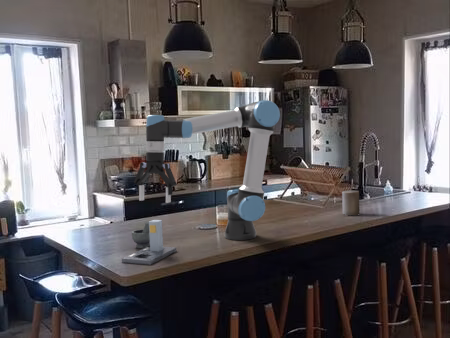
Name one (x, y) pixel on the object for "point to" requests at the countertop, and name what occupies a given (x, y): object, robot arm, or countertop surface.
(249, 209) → the robot arm
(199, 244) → the countertop surface
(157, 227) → the plug
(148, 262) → the port panel
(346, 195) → the pillar candle
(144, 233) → the mortar and pestle
